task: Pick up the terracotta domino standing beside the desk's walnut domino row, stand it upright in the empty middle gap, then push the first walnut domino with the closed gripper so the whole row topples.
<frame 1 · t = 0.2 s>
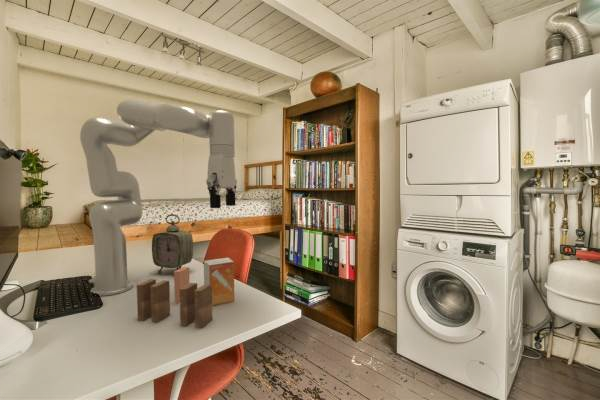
hand: (223, 206, 91), 30 cm above the table, tool pointing down, fingers open, 9 cm apart
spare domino: (182, 299, 95), on the table
domino 4: (189, 321, 79), on the table
domino 2: (161, 318, 81), on the table
domino 1: (147, 316, 82), on the table
tabletop clock: (174, 273, 123), on the table
small box: (219, 301, 94), on the table
domino 5: (204, 323, 78), on the table
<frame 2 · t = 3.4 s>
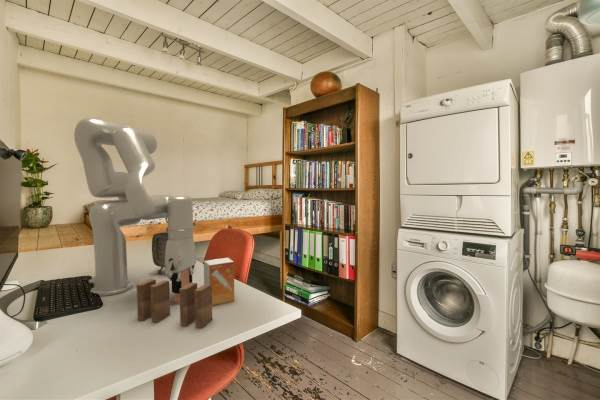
hand: (182, 289, 94), 3 cm above the table, tool pointing down, fingers closed on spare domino, 4 cm apart
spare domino: (182, 299, 95), on the table, touching gripper
everything else where it was.
when the fingers open (4 cm above the table, at t = 8.9 s): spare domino stays where it is, on the table.
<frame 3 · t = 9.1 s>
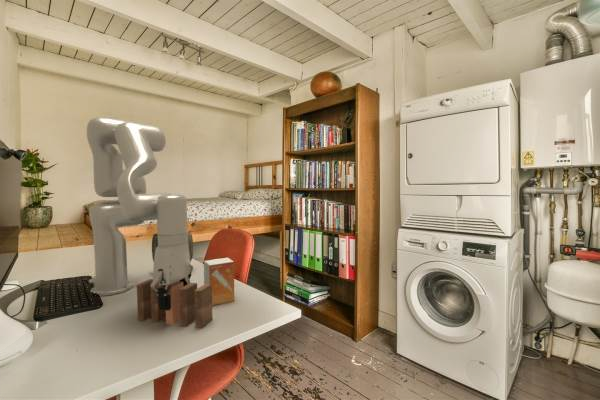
hand: (174, 303, 80), 5 cm above the table, tool pointing down, fingers open, 7 cm apart
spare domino: (175, 319, 80), on the table
everything else where it was.
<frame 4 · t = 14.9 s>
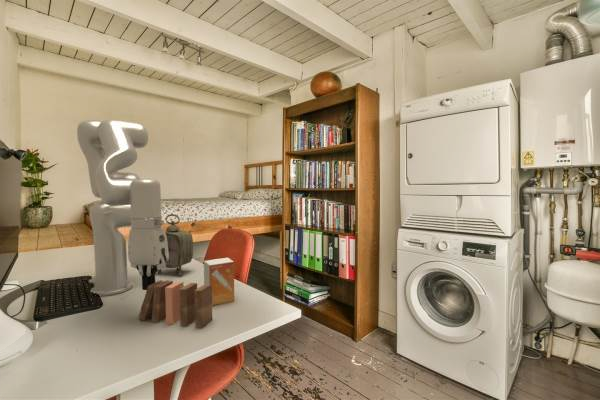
hand: (148, 288, 82), 8 cm above the table, tool pointing down, fingers closed
domino 2: (161, 317, 81), on the table, tilted 7°
domino 1: (147, 315, 82), on the table, tilted 21°
everything else where it was.
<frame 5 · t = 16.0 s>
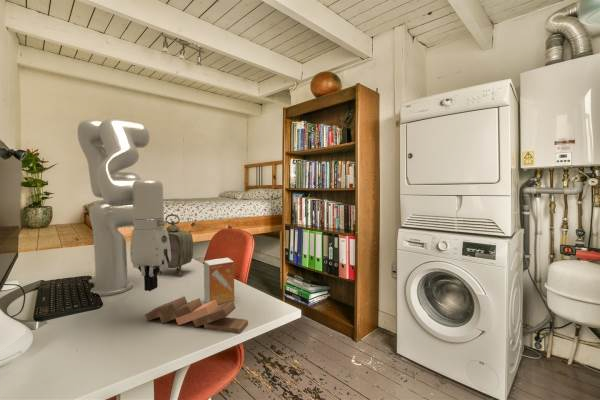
hand: (151, 289, 82), 8 cm above the table, tool pointing down, fingers closed
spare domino: (182, 317, 80), point 1 cm above the table, tilted 66°, touching domino 2, domino 4
domino 4: (199, 319, 78), point 1 cm above the table, tilted 67°, touching domino 5, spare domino
domino 2: (167, 315, 81), point 1 cm above the table, tilted 66°, touching domino 1, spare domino
domino 1: (152, 313, 82), point 1 cm above the table, tilted 66°, touching domino 2
domino 5: (209, 323, 78), on the table, tilted 90°, touching domino 4
everything else where it was.
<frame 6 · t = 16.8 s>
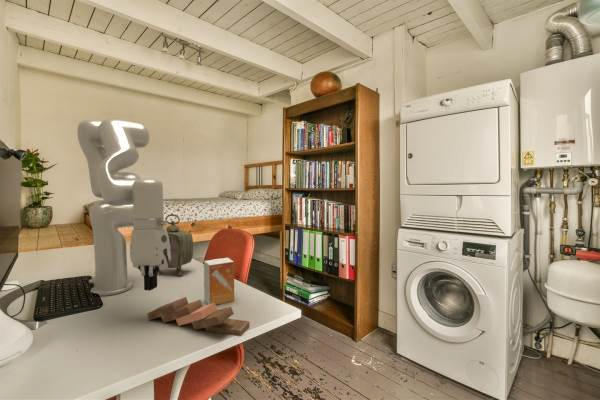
hand: (150, 288, 82), 8 cm above the table, tool pointing down, fingers closed
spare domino: (184, 318, 79), point 1 cm above the table, tilted 66°, touching domino 2
domino 4: (200, 321, 77), point 1 cm above the table, tilted 67°, touching domino 5
domino 1: (155, 313, 82), point 1 cm above the table, tilted 66°, touching domino 2
domino 5: (210, 324, 77), on the table, tilted 90°, touching domino 4
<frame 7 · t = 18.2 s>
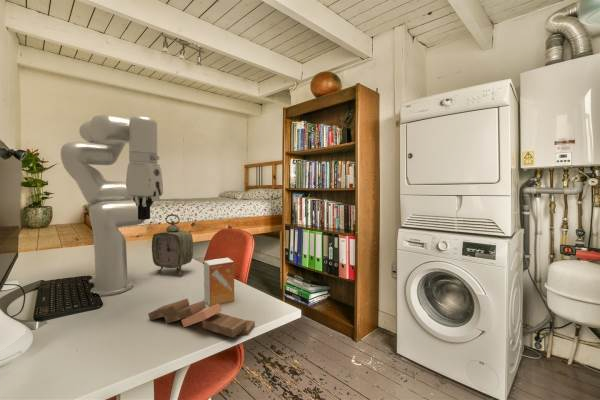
hand: (144, 219, 89), 27 cm above the table, tool pointing down, fingers closed
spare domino: (190, 319, 78), point 1 cm above the table, tilted 63°, touching domino 2, domino 4
domino 4: (209, 319, 76), point 2 cm above the table, tilted 90°, touching domino 5, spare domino
domino 2: (172, 316, 81), point 1 cm above the table, tilted 67°, touching domino 1, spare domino
domino 1: (156, 313, 82), point 1 cm above the table, tilted 68°, touching domino 2
domino 5: (215, 325, 76), on the table, tilted 90°, touching domino 4
everything else where it was.
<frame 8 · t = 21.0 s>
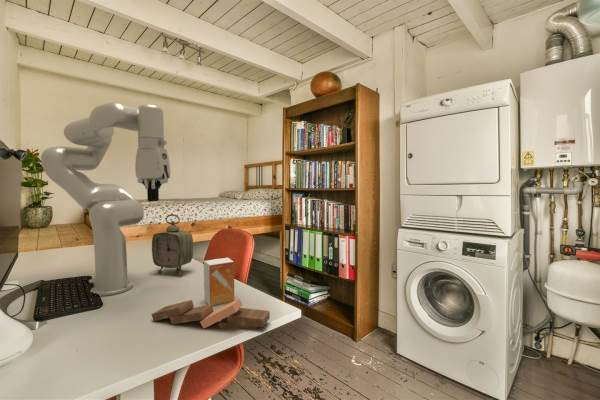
hand: (153, 200, 95), 32 cm above the table, tool pointing down, fingers closed
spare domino: (206, 321, 78), point 1 cm above the table, tilted 61°, touching domino 4
domino 4: (231, 314, 78), point 2 cm above the table, tilted 90°, touching domino 5, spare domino
domino 2: (176, 316, 80), point 1 cm above the table, tilted 75°, touching domino 1
domino 1: (159, 313, 82), point 1 cm above the table, tilted 71°, touching domino 2
domino 5: (222, 322, 78), on the table, tilted 90°, touching domino 4
everything else where it was.
at the end: domino 5 tilted 90°; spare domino tilted 61°; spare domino inside the target area (2.9 cm from its centre), point 1.0 cm above the table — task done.
